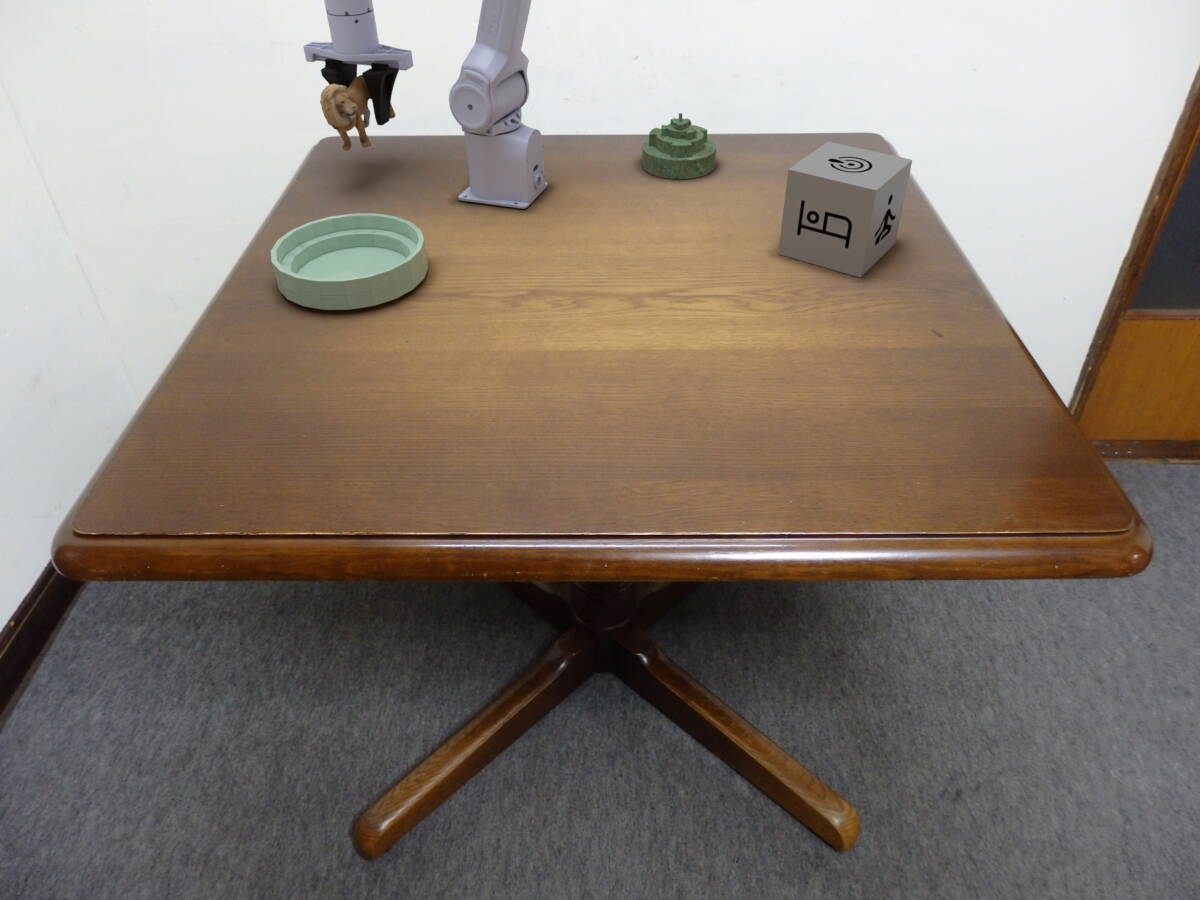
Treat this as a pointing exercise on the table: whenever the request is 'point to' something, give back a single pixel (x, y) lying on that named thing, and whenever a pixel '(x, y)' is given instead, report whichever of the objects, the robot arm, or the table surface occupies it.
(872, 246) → the icon cube
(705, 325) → the table surface
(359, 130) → the lion figurine
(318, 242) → the bowl
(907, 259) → the table surface
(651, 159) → the decorative artifact
